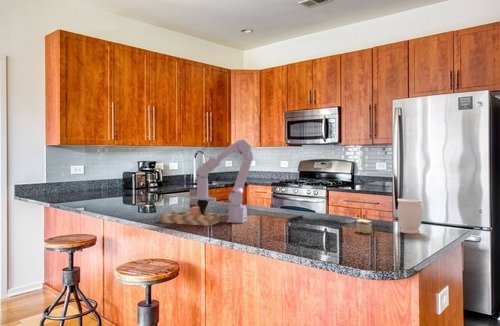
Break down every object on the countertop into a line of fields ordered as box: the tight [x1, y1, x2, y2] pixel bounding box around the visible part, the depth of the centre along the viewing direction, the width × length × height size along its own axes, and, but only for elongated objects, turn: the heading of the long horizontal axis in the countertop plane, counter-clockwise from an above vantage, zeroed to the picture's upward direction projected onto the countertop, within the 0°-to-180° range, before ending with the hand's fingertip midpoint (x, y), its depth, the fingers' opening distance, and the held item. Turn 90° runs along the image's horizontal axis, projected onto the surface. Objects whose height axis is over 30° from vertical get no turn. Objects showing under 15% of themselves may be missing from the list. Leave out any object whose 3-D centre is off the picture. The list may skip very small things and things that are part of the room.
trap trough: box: [160, 210, 220, 227], centre depth 198 cm, size 29×11×4 cm, turn 71°
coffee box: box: [189, 187, 200, 209], centre depth 218 cm, size 9×6×16 cm
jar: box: [396, 197, 423, 235], centre depth 170 cm, size 11×10×15 cm
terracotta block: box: [189, 207, 203, 216], centre depth 197 cm, size 5×5×5 cm
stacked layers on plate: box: [355, 218, 373, 234], centre depth 172 cm, size 10×9×6 cm
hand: (203, 214), depth 196 cm, fingers closed
